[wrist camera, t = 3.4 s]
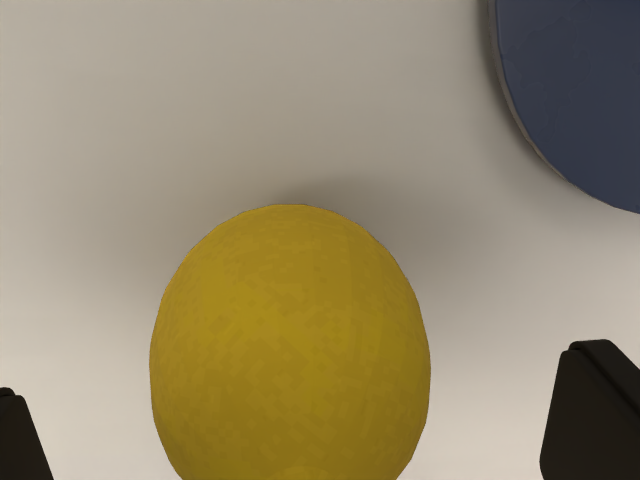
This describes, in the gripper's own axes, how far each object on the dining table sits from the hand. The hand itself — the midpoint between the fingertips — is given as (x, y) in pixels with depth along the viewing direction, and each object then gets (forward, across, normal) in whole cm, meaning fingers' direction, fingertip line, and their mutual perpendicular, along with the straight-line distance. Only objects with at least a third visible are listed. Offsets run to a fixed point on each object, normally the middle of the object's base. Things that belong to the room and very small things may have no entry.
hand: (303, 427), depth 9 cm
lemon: (+6, 0, 0) cm, 6 cm away
